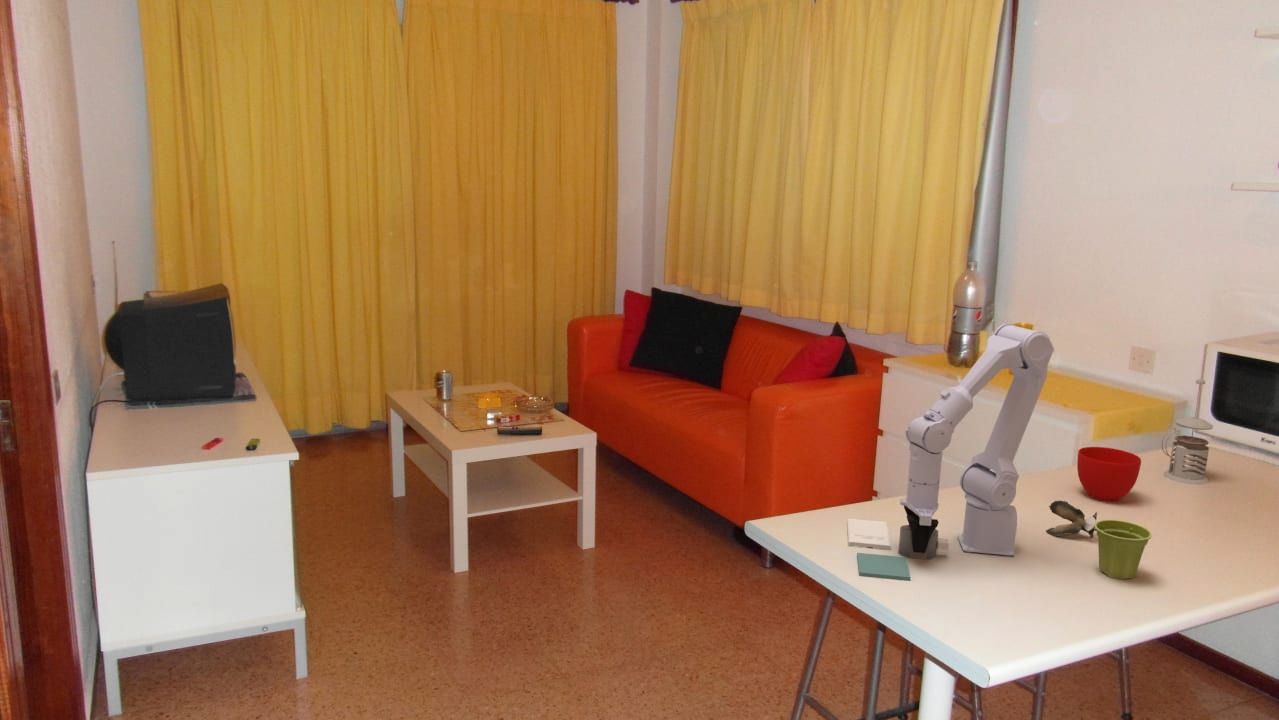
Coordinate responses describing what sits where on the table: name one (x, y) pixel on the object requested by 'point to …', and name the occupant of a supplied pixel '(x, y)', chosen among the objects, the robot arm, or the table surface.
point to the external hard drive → (868, 534)
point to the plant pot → (1120, 547)
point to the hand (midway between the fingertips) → (917, 547)
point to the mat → (883, 566)
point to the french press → (1189, 451)
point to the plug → (932, 547)
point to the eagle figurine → (1074, 516)
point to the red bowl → (1107, 472)
